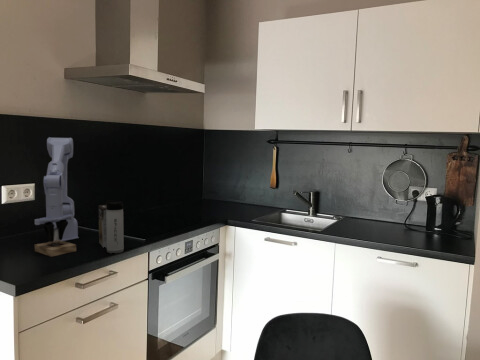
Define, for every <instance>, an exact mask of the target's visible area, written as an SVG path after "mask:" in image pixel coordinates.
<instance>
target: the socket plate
mask: <svg viewBox="0 0 480 360" xmlns="http://www.w3.org/2000/svg"><path fill="white" fill-rule="evenodd" d="M34 252H36V253H39V254H42V255H45V256H48V257H51V258H52V257H56V256H61V255H64V254H69V253H75V252H77V244H75V243H71V242H68V241H61V240H60V246H56V247H51V242H50V241H48V242H42V243H37V244H34Z"/></svg>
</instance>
